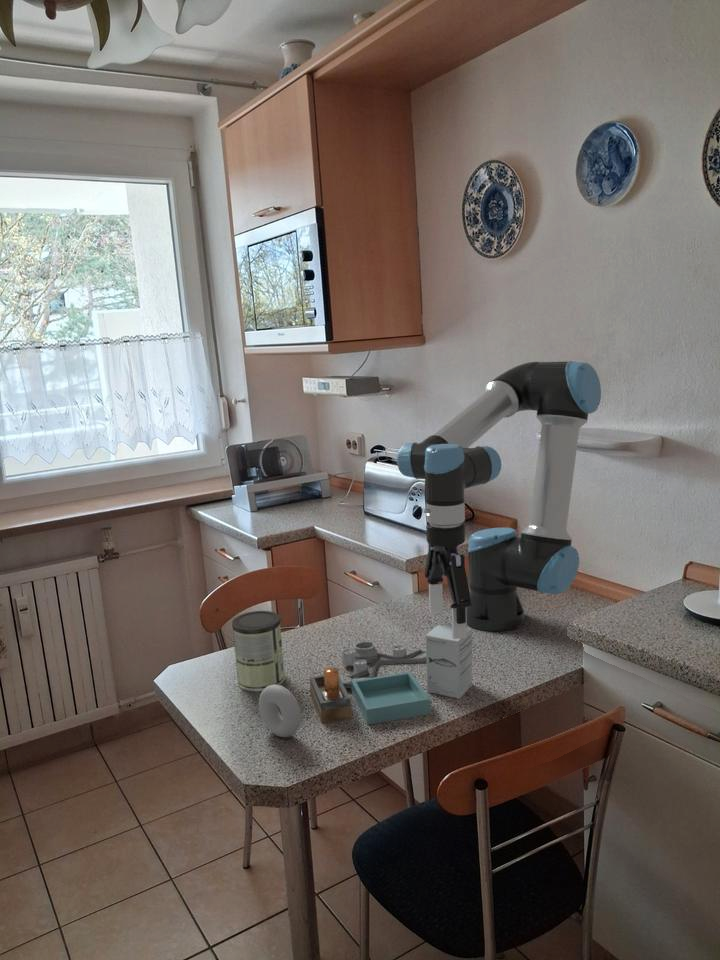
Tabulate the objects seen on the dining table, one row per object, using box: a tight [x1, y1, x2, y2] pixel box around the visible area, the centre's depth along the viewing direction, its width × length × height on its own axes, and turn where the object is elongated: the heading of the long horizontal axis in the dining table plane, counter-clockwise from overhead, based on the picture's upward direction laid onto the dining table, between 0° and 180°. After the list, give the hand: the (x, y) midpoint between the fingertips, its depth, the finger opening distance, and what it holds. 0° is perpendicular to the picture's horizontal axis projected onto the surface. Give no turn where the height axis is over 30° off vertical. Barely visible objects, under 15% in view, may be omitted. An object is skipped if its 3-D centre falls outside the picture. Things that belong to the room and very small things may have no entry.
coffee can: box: [231, 610, 286, 693], centre depth 165 cm, size 10×10×14 cm
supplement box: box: [425, 622, 473, 700], centre depth 158 cm, size 7×7×13 cm
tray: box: [351, 671, 431, 726], centre depth 153 cm, size 13×13×3 cm
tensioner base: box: [309, 674, 353, 724], centre depth 154 cm, size 6×12×4 cm, turn 14°
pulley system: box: [340, 641, 427, 690], centre depth 171 cm, size 27×5×15 cm
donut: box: [258, 684, 302, 738], centre depth 143 cm, size 10×3×10 cm, turn 48°
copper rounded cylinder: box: [322, 666, 343, 701], centre depth 150 cm, size 4×4×6 cm
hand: (447, 625), depth 156 cm, fingers open, 13 cm apart
